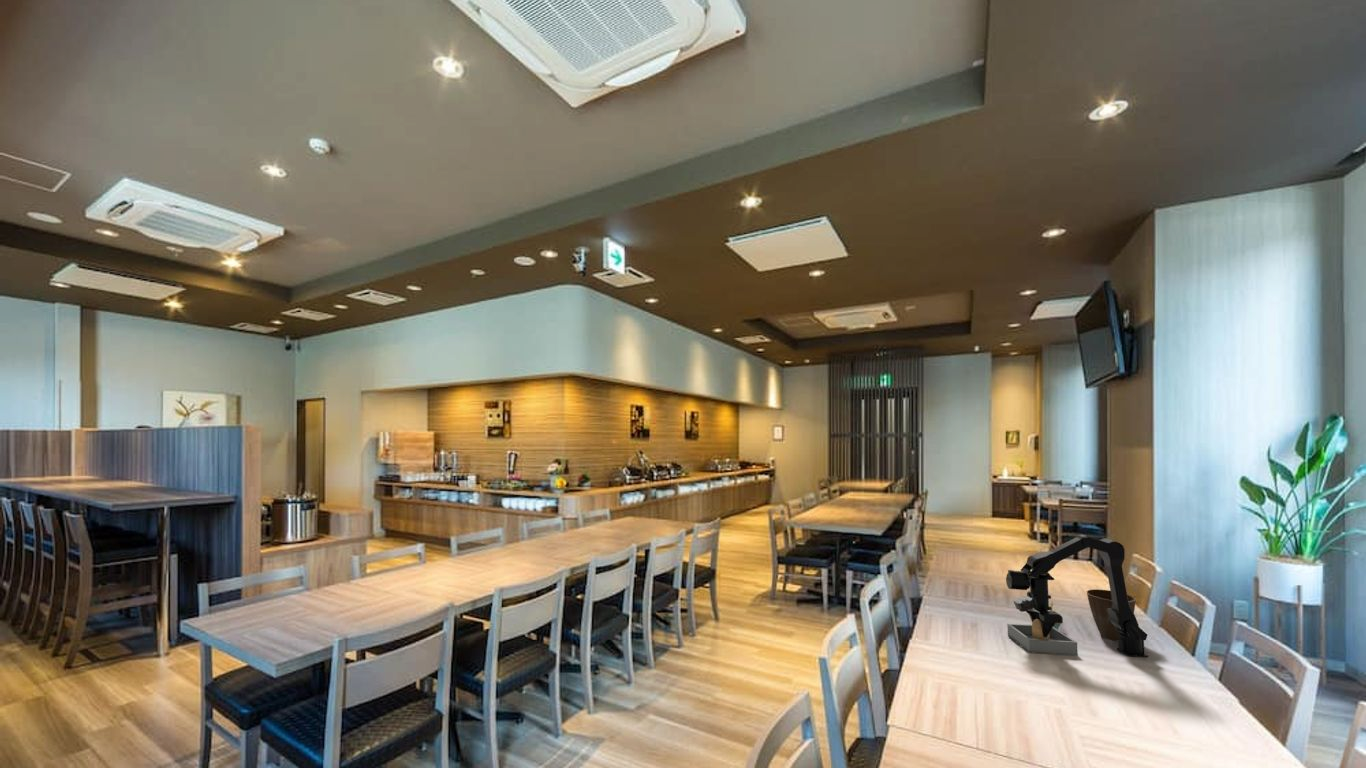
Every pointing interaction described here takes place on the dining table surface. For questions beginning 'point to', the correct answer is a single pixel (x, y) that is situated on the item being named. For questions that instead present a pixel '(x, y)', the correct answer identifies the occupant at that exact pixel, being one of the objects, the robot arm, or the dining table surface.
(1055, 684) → the dining table surface
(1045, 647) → the bin
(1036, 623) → the tan oval piece
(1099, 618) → the plant pot
